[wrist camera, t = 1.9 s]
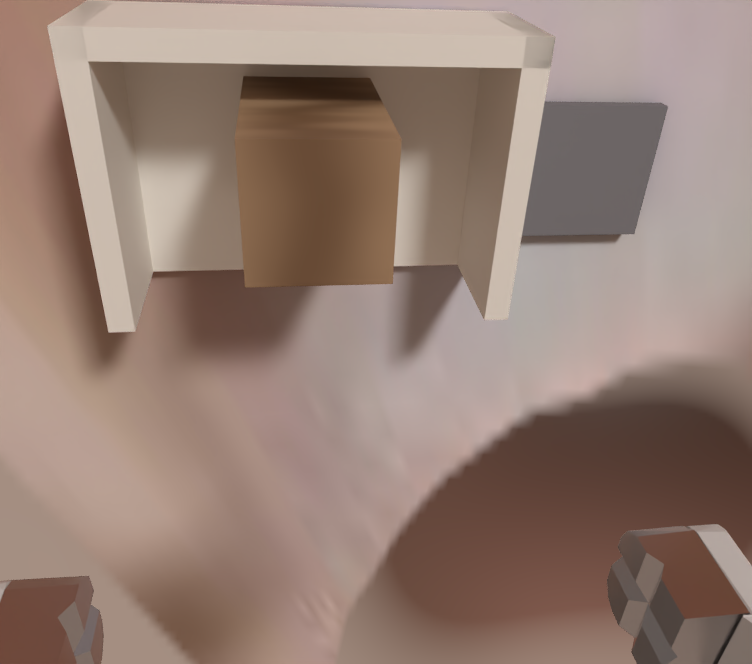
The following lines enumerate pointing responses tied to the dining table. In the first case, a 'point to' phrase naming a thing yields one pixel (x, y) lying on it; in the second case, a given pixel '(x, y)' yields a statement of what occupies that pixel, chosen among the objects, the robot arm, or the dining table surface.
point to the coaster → (592, 167)
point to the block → (316, 182)
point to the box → (295, 59)
